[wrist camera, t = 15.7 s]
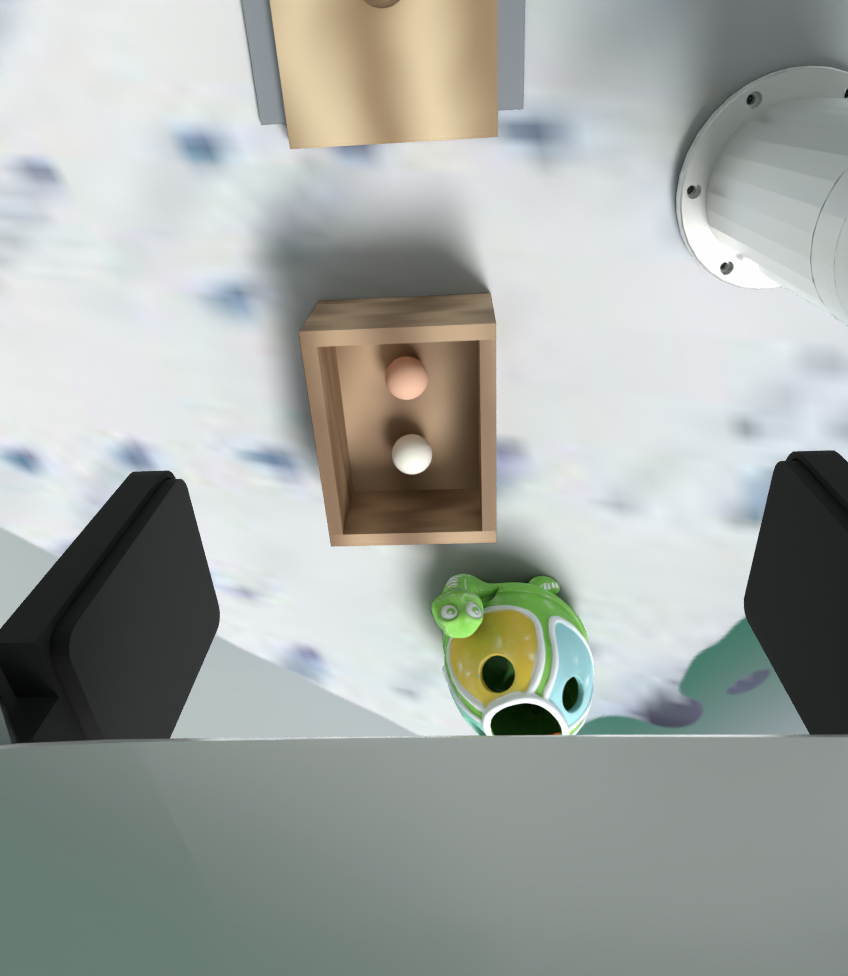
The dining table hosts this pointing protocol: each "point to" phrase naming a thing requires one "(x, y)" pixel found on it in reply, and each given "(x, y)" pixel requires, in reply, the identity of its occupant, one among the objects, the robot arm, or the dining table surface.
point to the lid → (386, 70)
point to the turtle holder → (514, 656)
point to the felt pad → (269, 75)
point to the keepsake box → (404, 418)
